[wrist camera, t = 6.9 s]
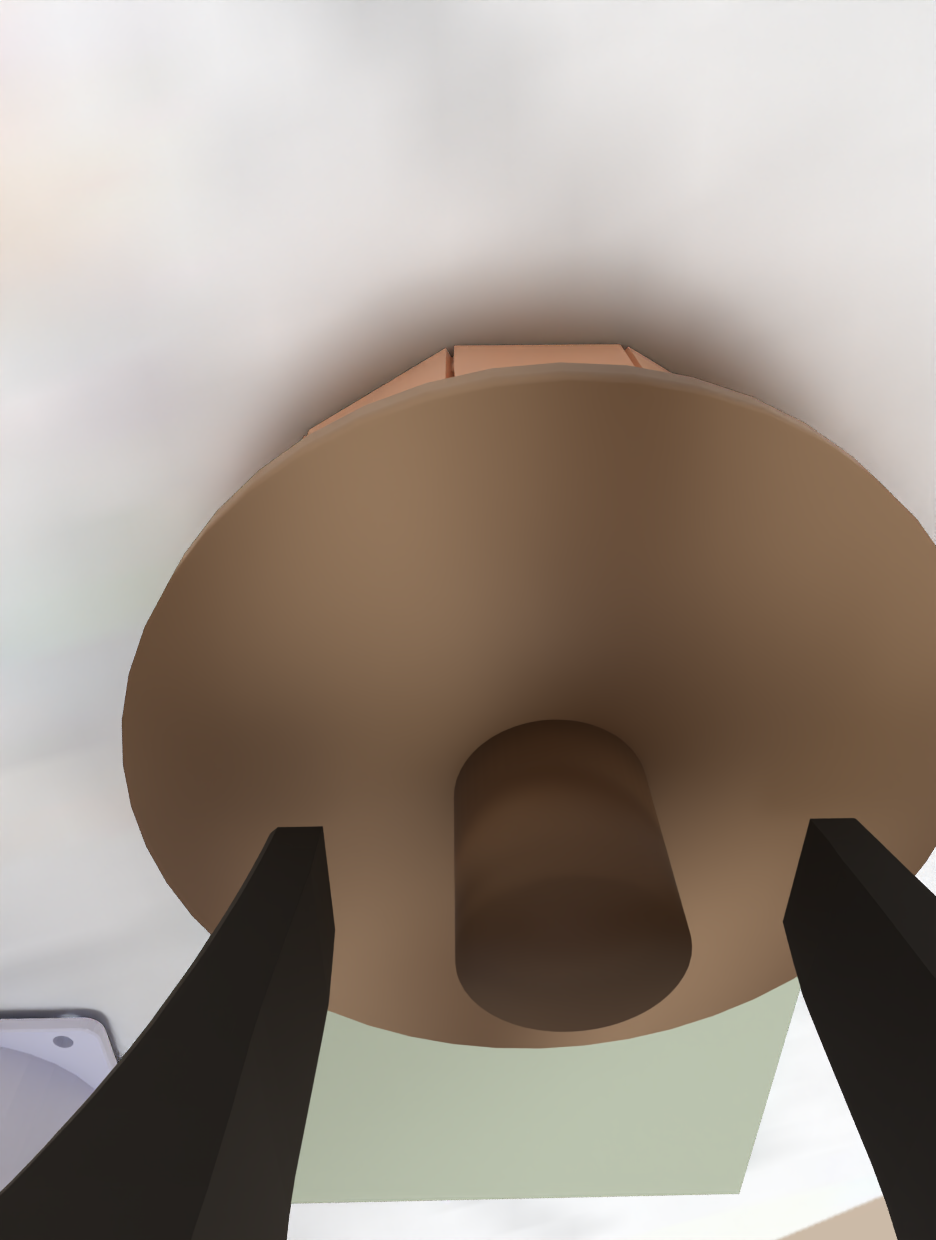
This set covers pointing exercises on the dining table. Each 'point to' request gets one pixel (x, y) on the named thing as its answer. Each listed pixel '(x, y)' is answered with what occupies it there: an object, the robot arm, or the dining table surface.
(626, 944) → the walnut lid
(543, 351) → the terracotta bowl
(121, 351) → the dining table surface
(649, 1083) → the rubber mat
